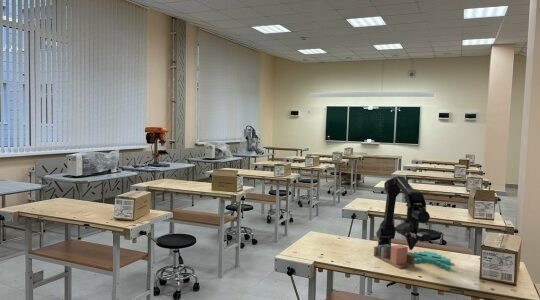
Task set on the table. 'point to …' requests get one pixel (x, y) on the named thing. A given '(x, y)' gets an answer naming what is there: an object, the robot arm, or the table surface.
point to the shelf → (385, 254)
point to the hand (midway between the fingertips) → (410, 249)
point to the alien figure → (431, 259)
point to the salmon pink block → (399, 254)
